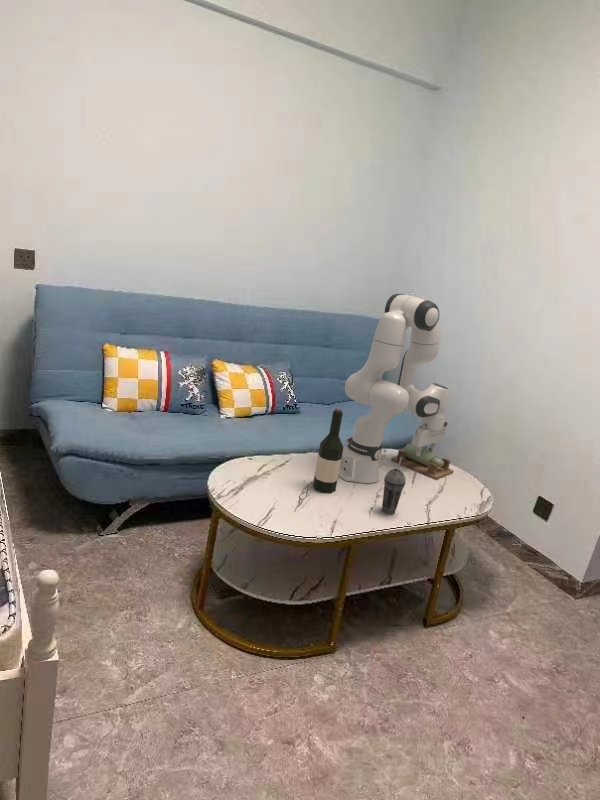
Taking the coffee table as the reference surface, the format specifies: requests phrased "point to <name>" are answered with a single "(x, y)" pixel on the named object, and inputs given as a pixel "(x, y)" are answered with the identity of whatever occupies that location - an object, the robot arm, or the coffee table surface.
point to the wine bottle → (329, 457)
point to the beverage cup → (392, 490)
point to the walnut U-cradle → (424, 466)
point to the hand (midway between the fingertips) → (424, 453)
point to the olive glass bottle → (422, 456)
